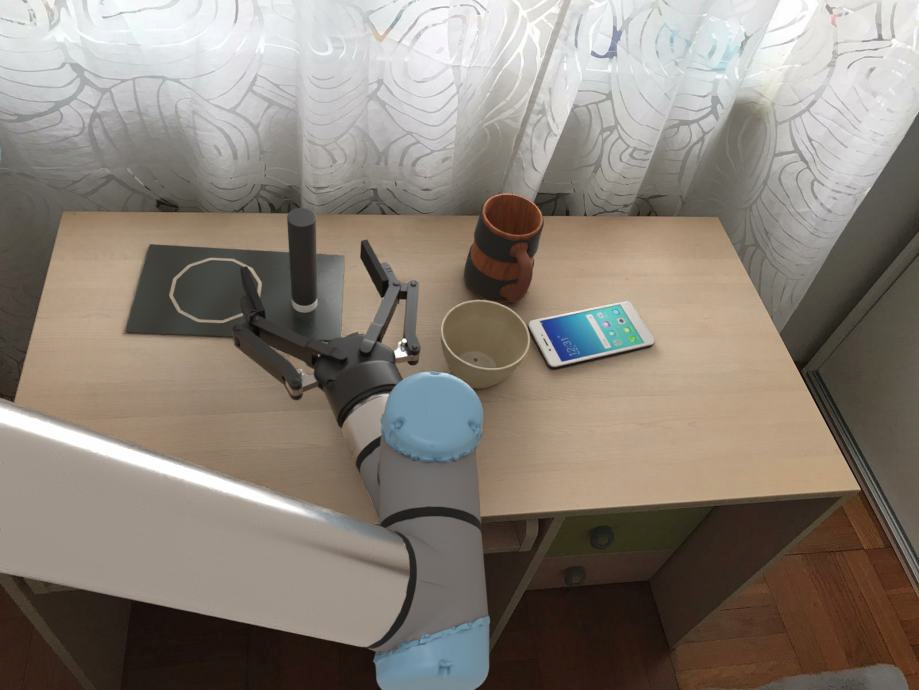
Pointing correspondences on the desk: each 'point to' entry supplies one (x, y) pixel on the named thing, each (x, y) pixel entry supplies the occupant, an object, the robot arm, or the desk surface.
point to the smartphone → (590, 334)
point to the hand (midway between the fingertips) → (305, 261)
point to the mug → (504, 248)
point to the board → (229, 292)
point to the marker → (302, 259)
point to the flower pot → (483, 342)
